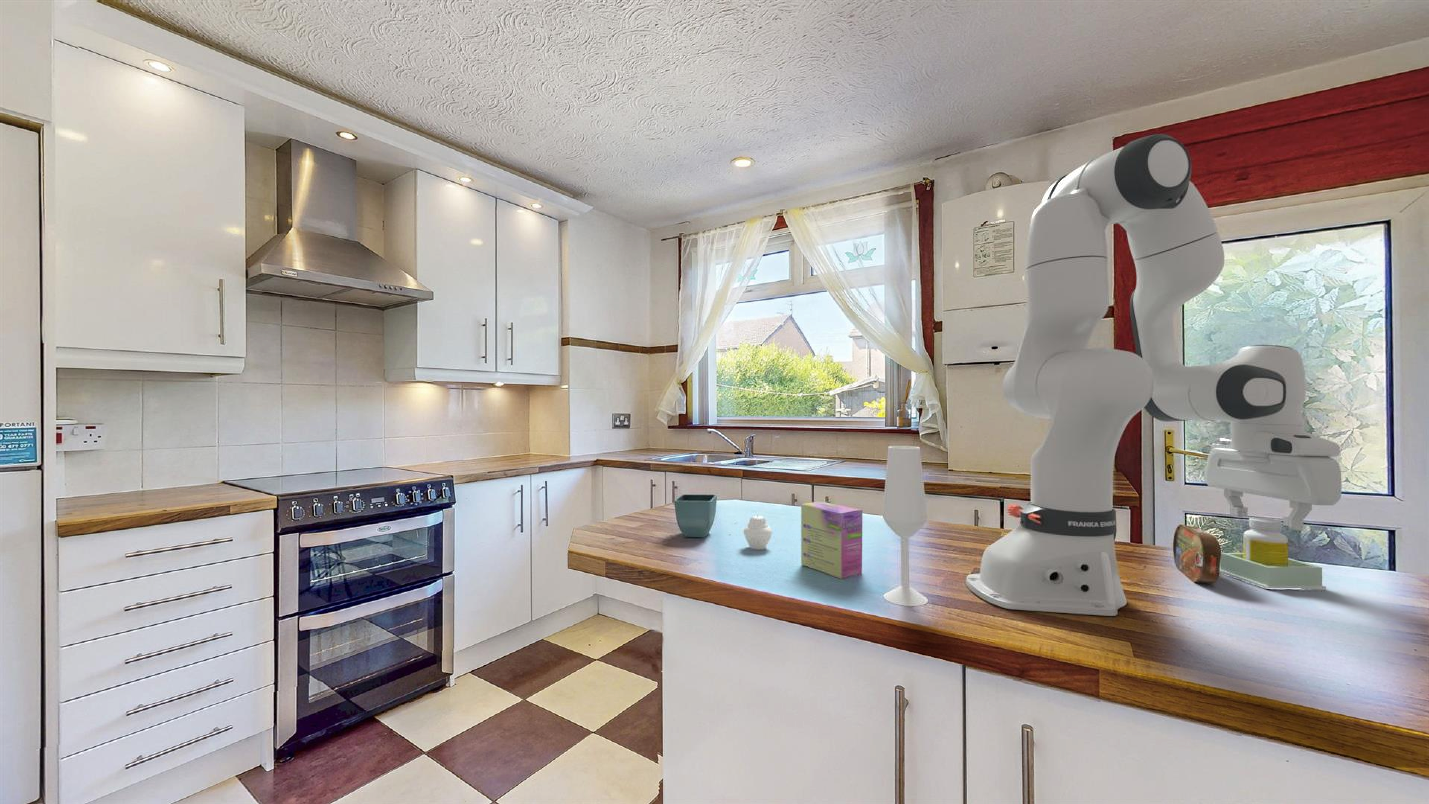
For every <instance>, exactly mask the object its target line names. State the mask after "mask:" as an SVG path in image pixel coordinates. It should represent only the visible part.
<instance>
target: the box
mask: <svg viewBox="0 0 1429 804" xmlns="http://www.w3.org/2000/svg"><path fill="white" fill-rule="evenodd" d="M800 509H801V510H800V518H801V519H800V522H801V523H800V524H801V525H800V527H801V528H800V542H801V543H800V549H801V550H800V551H801V553H800V554H801V555H800V558H801V559H800V561H801V562H800V564H801V565H802V566H806V567H807V568H808V567H809V568H811V569H813V570H817V571H820V572H823V573H825V574H828V575H830V576H832V577H835V578H838V579H841V580H843V579H847V578H851V577H855V576H859V575H862V574H863V510H862V509H861V508H860V509H858V508H855V507H849V506H845V505H840V504H835V503H832V502H831V503H830V502H826V501H823V500H822V501H821V500H819V501H814V502H813V501H812V502H807V503H802V504H801V505H800Z"/></svg>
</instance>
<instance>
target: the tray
mask: <svg viewBox="0 0 1429 804" xmlns="http://www.w3.org/2000/svg"><path fill="white" fill-rule="evenodd" d="M1219 572H1220V573H1221V575H1223V574H1226V575H1229V576H1231V577H1236V578H1238V579H1240V580H1244V581H1247V582H1249V583H1253V584H1255V585H1259V586H1262V587H1264V588H1301V589H1319V590H1318V591H1327V586H1326V585H1323V567H1321V566H1319V565H1314V564H1311V563H1306V562H1303V561H1300V560H1297V559H1293V558H1289V557H1288V566H1266V565H1263V564H1259V563H1256V562H1253V561H1250V560H1246V559H1243V552H1221V558H1220V570H1219ZM1226 575H1225V576H1226ZM1229 576H1228V577H1229ZM1231 577H1230V578H1231ZM1240 580H1239V581H1240Z"/></svg>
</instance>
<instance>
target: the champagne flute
mask: <svg viewBox="0 0 1429 804" xmlns="http://www.w3.org/2000/svg"><path fill="white" fill-rule="evenodd" d="M886 459H887V460H886V470H885V482H884V492H883V493H884V494H883V503H882V504H883V507H882V517H883V520H884V523H886V525H887V526H888V527H889V528H890V529H891V530H892V531H893V533H894V534H896V535H897V536H898V537H900V558H901V559H900V565H901V566H900V567H901V568H900V570H901V571H900V573H901V574H900V575H901V578H900V580H901V582H900V583H901V584H900V586H898V587H896V588H894V589H891V590H890V591H888V592H886V593H884V594H883V598H884V600H886V601H887V602H888V603H891V604H894V605H898V606H903V607H904V606H905V607H919V606H923V605H926V604H927V603H928V602H929V600H928V598H927V597H926V596H924V595H923V594H921V593H920V592H918V591H917V590H916V589H914V588H912V587H911V586H910V543H909V541H910V538H911V537H912V536H914V535H916V534H917V532H919V531H920V530H921V529H922V528H924V527H923V526H924V525H926V522H927V520H928V510H927V504H926V503H927V500H926V492H925V483H924V482H925V481H924V475H923V474H924V473H923V465H922V456H921V448H920V447H919V446H910V445H892V446H891V445H890V446H888V449H887V457H886Z"/></svg>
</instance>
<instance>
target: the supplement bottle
mask: <svg viewBox="0 0 1429 804" xmlns="http://www.w3.org/2000/svg"><path fill="white" fill-rule="evenodd" d="M1248 526H1249V528H1250V529H1248V530H1245V531H1244V532H1243V540H1242V541H1243V547H1242V548H1243V551H1242V553H1243V559H1246V560H1250V561H1253V562H1256V563H1259V564H1263V565H1266V566H1288V558H1289V538H1288V536H1287V535H1285V534H1284V533H1281V531H1282V530H1283V520H1282V521H1281V520H1278V519H1274V518H1267V517H1249V518H1248Z"/></svg>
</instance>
